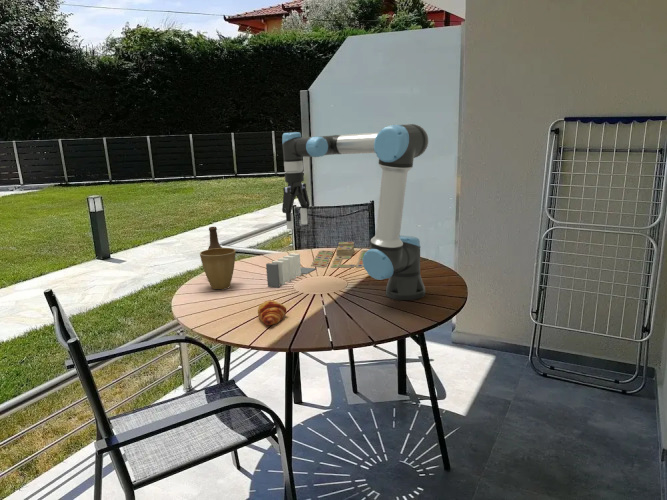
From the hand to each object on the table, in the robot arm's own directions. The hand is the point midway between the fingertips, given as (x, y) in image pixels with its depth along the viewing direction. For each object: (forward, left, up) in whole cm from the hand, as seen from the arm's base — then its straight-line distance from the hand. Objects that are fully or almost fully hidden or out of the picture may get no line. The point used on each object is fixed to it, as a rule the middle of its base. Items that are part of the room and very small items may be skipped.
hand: (297, 226), depth 211 cm
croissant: (-35, +7, -26) cm, 44 cm away
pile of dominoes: (+45, -16, -27) cm, 55 cm away
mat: (+25, +1, -26) cm, 36 cm away
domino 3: (+10, +8, -26) cm, 29 cm away
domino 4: (+14, +6, -26) cm, 30 cm away
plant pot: (+4, +35, -26) cm, 44 cm away
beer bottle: (+18, +40, -26) cm, 51 cm away
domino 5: (+18, +4, -26) cm, 32 cm away
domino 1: (+2, +12, -26) cm, 29 cm away
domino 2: (+6, +10, -26) cm, 28 cm away
